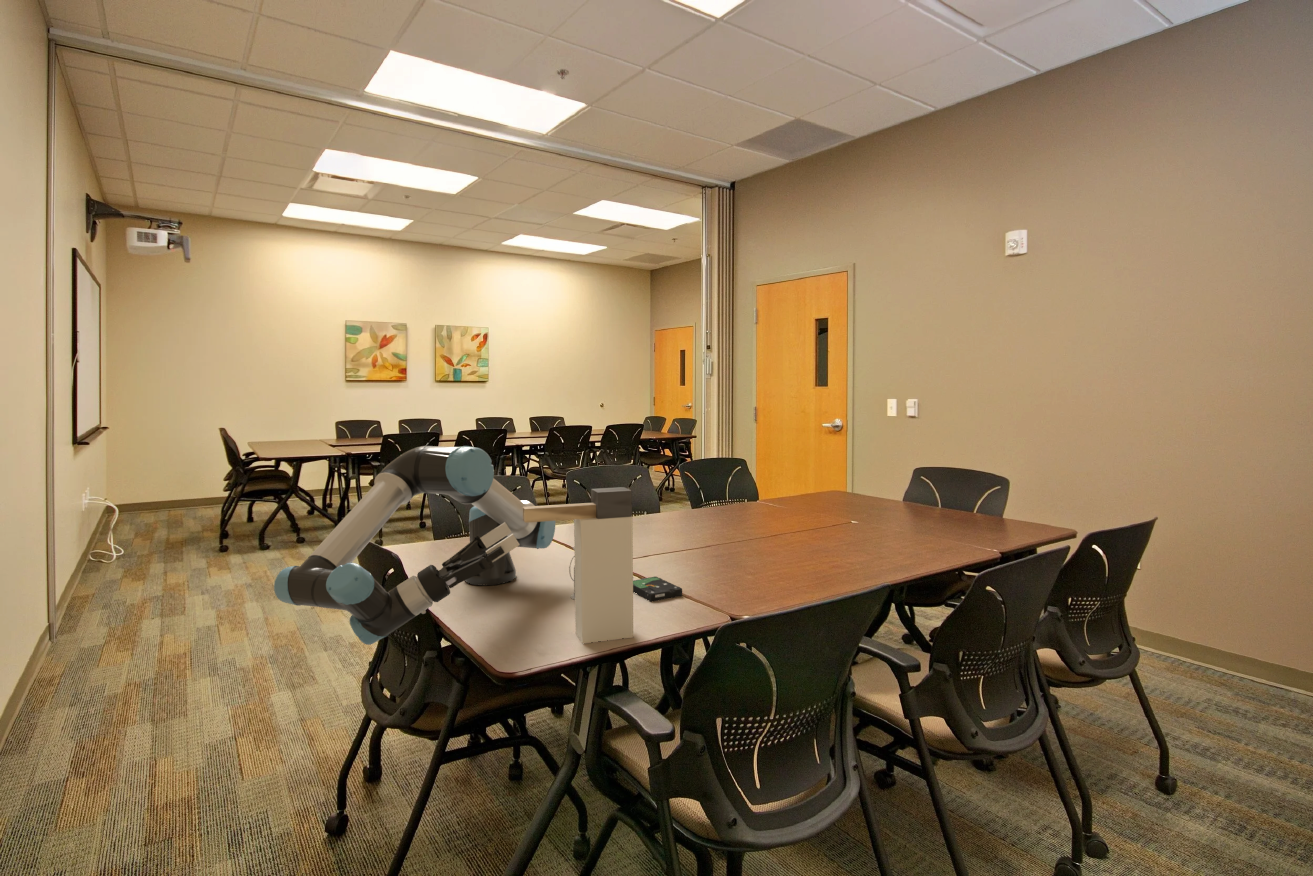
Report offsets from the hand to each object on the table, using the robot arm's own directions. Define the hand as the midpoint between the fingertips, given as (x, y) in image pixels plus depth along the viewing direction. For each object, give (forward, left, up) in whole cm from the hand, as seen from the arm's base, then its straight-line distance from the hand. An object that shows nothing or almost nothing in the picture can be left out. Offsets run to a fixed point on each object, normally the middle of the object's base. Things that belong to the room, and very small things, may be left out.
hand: (512, 532), depth 150 cm
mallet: (0, +15, +2) cm, 15 cm away
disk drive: (-29, +43, -26) cm, 58 cm away
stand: (0, +21, -26) cm, 33 cm away
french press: (-31, +24, -26) cm, 47 cm away
